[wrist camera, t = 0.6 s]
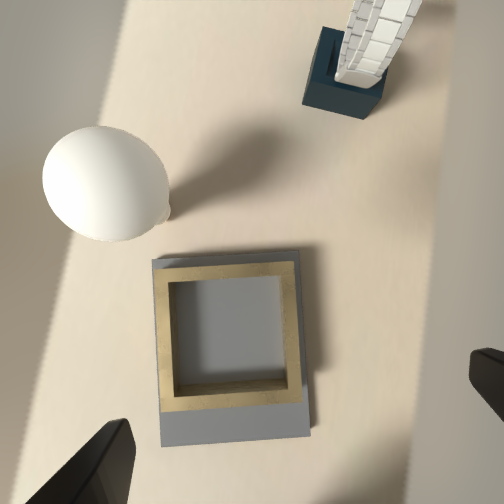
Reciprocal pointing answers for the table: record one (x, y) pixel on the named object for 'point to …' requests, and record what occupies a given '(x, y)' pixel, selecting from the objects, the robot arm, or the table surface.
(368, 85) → the watch
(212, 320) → the socket plate
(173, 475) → the table surface
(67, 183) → the lightbulb
